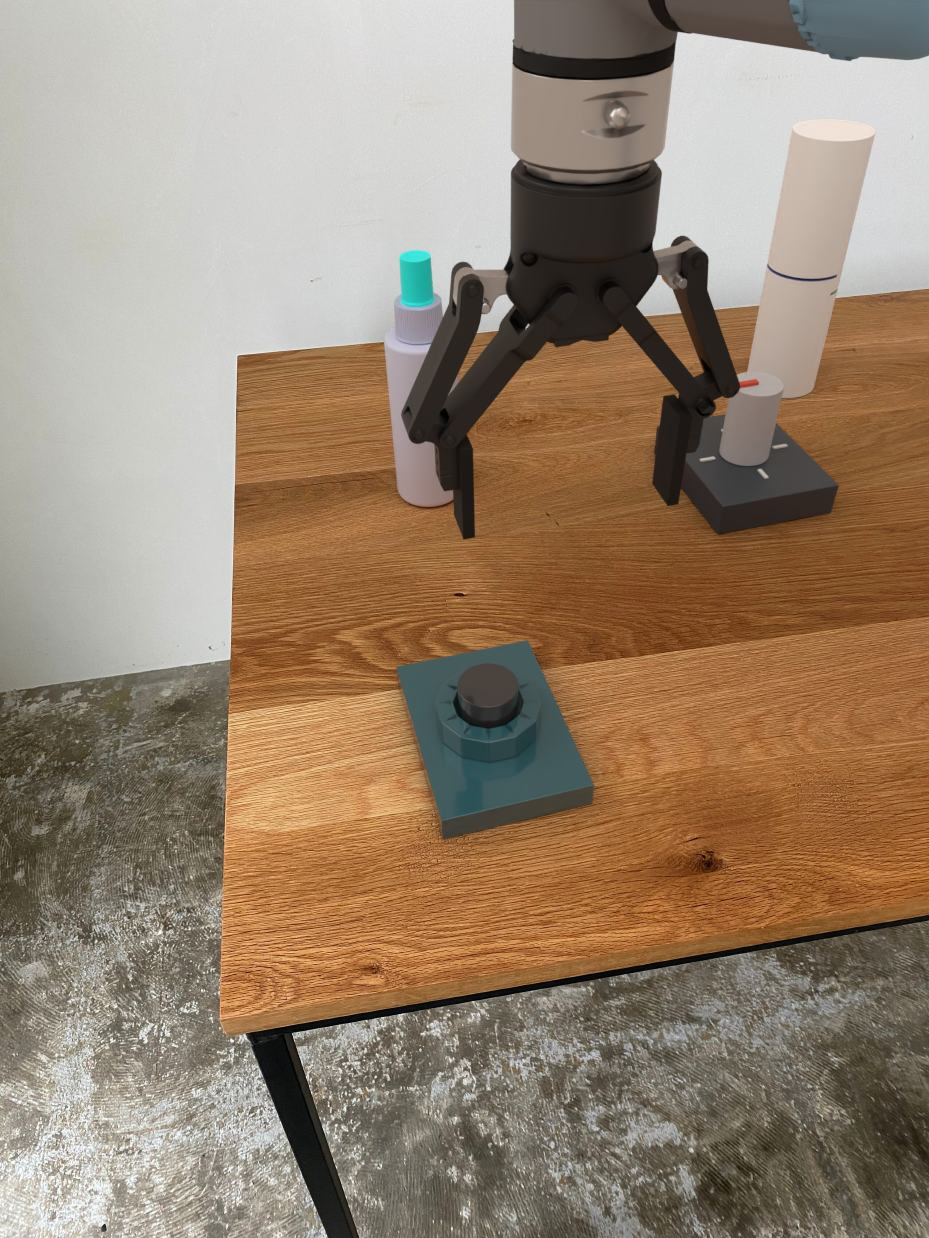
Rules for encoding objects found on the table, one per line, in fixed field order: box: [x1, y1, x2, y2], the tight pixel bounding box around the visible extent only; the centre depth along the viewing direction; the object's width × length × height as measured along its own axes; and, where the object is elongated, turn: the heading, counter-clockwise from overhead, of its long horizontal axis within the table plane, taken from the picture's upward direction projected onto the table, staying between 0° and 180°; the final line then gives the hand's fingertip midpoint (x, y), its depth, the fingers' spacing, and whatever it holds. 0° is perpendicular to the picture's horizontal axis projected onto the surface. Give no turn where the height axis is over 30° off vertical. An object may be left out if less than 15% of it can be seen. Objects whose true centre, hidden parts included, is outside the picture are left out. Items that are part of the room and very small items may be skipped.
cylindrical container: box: [746, 118, 876, 399], centre depth 93 cm, size 7×7×25 cm
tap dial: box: [719, 371, 784, 466], centre depth 83 cm, size 4×4×7 cm
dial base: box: [653, 413, 840, 535], centre depth 86 cm, size 14×11×3 cm
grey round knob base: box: [395, 639, 595, 840], centre depth 63 cm, size 14×10×4 cm
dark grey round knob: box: [457, 663, 518, 728], centre depth 62 cm, size 4×4×2 cm
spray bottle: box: [383, 249, 459, 508], centre depth 80 cm, size 6×6×22 cm
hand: (566, 510), depth 61 cm, fingers open, 13 cm apart
